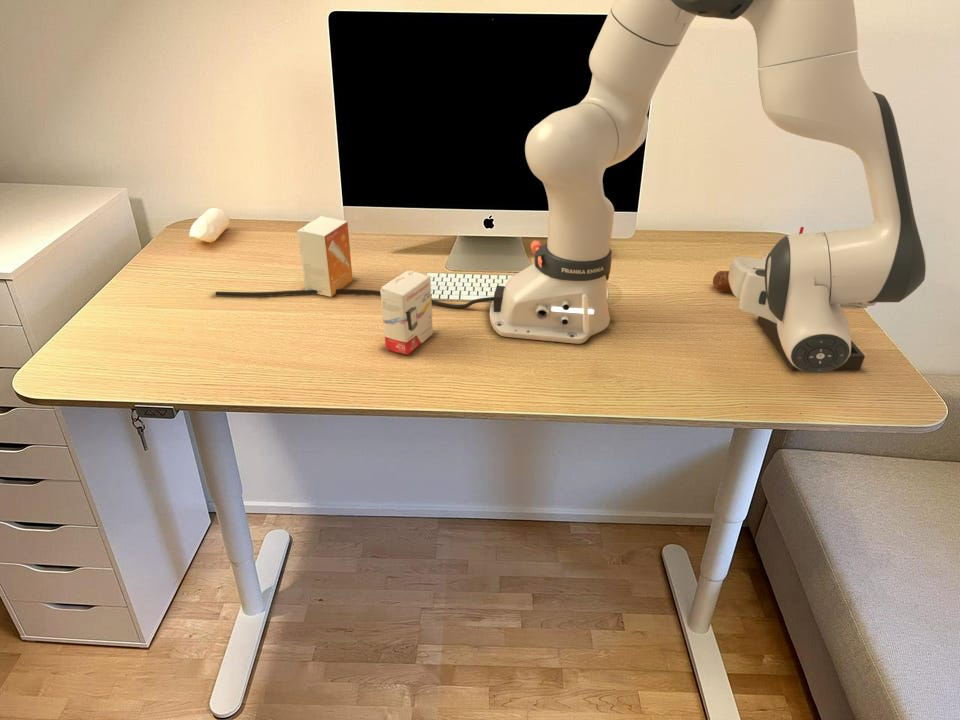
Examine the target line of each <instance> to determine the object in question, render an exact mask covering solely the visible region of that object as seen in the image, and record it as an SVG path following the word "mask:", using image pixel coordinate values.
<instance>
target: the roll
mask: <svg viewBox="0 0 960 720" xmlns="http://www.w3.org/2000/svg"><path fill="white" fill-rule="evenodd" d="M230 221H231V220H230V217H229V215H228V214H227V213H226V212H225V211H223V210H222V209H220V208H218V207H212V208H208V209H207V210H206V211H204V213H202V214H201V215H200V216H199V217H198V218H197V219H196V220H195V221H194V222H193V223H192V225H191V227H190V230H189V237H190V238H193V239H195V240H197V241H200V242H207V243H209V244H210V243H214V242H216V240H217V239H218V238H219V237H220V236H221V235H222V234H223V232H224V231H225V230H226V229H227V228H228V227H229V226H230Z"/></svg>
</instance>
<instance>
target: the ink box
mask: <svg viewBox="0 0 960 720" xmlns="http://www.w3.org/2000/svg"><path fill="white" fill-rule="evenodd" d="M379 291H380V293H381V295H380V302H381V312H382V323H383V333H384V345H385V349H386V350H388V351H391V352H394V353H397V354H400V355H401V354H402V355H406V356H409V355H410V354H411V353H412V352H413V351H415V349H417V348H418V347H419V346H420V345H422V344H423V343H424V342H425V341H427V339H429V338H430V337H431V336H432V335H433V334H434V327H433V324H434V323H433V304H432V302H431V300H432V285H431V276H430V275H429V274H425V273H422V272H417V271H415V270H410V269H409V270H406V271H404V272H402V273H401V274H399V275H398V276H397V277H394V279H391V280H390V281H388V282H387V283H386V284H384V285H382V286H381V288H380V289H379Z"/></svg>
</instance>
